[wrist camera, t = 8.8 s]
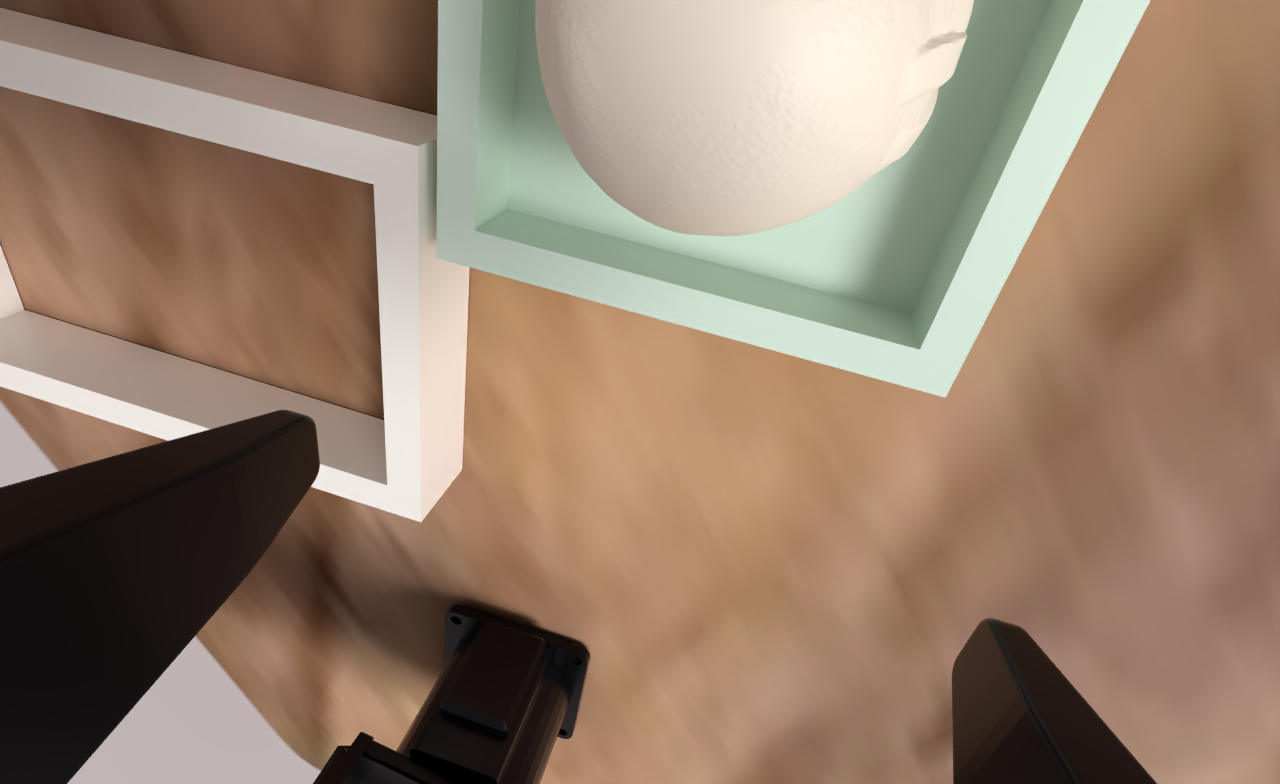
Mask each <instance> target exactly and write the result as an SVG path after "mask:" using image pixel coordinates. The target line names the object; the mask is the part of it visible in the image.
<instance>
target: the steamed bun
mask: <svg viewBox="0 0 1280 784" xmlns="http://www.w3.org/2000/svg"><path fill="white" fill-rule="evenodd" d="M973 3H974V0H536V6H535V8H536V10H535V28H536V31H535V33H536V44H537V54H538V60H539V65H540V72H541V78H542V81H543V84H544V88H545V92H546V96H547V99H548V101H549V104H550V108H551V110H552V114H553V116H554V118H555V121H556V122H557V125H558V127H559V129H560V131H561V133H562V135H563V137H564V139H565V141H566V142H567V144H568V146H569V147H570V149H571V151H572V153H573V154H574V156H575V158H576V159H577V161H578V163H579V164H580V166H581V167H582V168H583V170H584V171H585V172H586V173H587V174H588V176H589V177H591V178H592V180H593V181H595V182H596V184H597V185H598V186H599V187H600V188H601V189H602V190H603V192H604V193H606V194H607V195H608V196H609V197H610V198H611V199H613V200H614V201H615V202H617V203H618V204H619V205H621V206H622V207H624V208H626V209H627V210H629V211H630V212H632V213H633V214H635V215H636V216H638V217H640V218H642V219H644V220H645V221H647V222H649V223H652V224H653V225H655V226H657V227H660V228H663V229H666V230H670V231H674V232H676V233H682V234H689V235H702V236H740V235H748V234H754V233H759V232H763V231H768V230H770V229H775V228H778V227H782V226H784V225H787V224H791V223H794V222H797V221H800V220H802V219H805V218H808V217H809V216H812V215H814V214H817V213H818V212H821V211H823V210H825V209H827V208H829V207H831V206H832V205H834V204H836V203H838V202H840V201H841V200H842V199H844V198H845V197H847V196H848V195H850V194H851V193H852V192H854V191H855V190H857V189H858V188H859V187H860V186H861V185H863V184H864V183H865V182H867V181H868V180H869V179H870V178H871V177H872V176H873V175H874V174H876V173H877V172H879V171H881V170H882V169H884V168H886V167H887V166H888V165H890V164H891V163H892V162H894V161H896V160H898V159H899V158H901V157H902V156H904V155H905V154H906V153H907V152H908V151H909V149H910V148H911V146H912V145H913V143H914V142H915V141H916V139H917V138H918V136H919V135H920V133H921V132H922V130H923V129H924V127H925V125H926V124H927V122H928V120H929V118H930V117H931V115H932V112H933V109H934V107H935V104H936V100H937V95H938V89H939V87H940V86H942V85H943V84H944V83H946V82H947V81H948V80H949V79H950V78H951V77H952V76H953V74H954V71H955V68H956V65H957V62H958V59H959V56H960V54H961V51H962V48H963V46H964V43H965V41H966V38H967V35H966V33H965V32H966V29H967V26H968V23H969V19H970V16H971V13H972V7H973Z"/></svg>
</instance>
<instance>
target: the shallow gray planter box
mask: <svg viewBox="0 0 1280 784" xmlns="http://www.w3.org/2000/svg"><path fill="white" fill-rule="evenodd" d="M0 86H2V87H5V88H9V89H13V90H17V91H21V92H24V93H28V94H32V95H36V96H40V97H43V98H47V99H51V100H55V101H59V102H62V103H66V104H70V105H74V106H78V107H81V108H85V109H89V110H93V111H97V112H100V113H104V114H108V115H112V116H116V117H119V118H123V119H127V120H131V121H135V122H138V123H142V124H146V125H150V126H154V127H157V128H161V129H165V130H169V131H173V132H176V133H180V134H184V135H188V136H192V137H195V138H199V139H203V140H207V141H211V142H214V143H218V144H222V145H226V146H229V147H233V148H237V149H241V150H245V151H248V152H252V153H256V154H260V155H264V156H267V157H271V158H275V159H279V160H283V161H286V162H290V163H294V164H298V165H302V166H305V167H309V168H313V169H317V170H321V171H324V172H328V173H332V174H336V175H340V176H343V177H347V178H351V179H355V180H359V181H362V182H366V183H370V184H374V205H375V227H376V249H377V271H378V293H379V315H380V337H381V359H382V381H383V403H384V420H382V419H379V418H376V417H373V416H369V415H366V414H363V413H359V412H356V411H353V410H350V409H346V408H343V407H340V406H337V405H333V404H330V403H327V402H324V401H320V400H317V399H314V398H311V397H307V396H304V395H301V394H298V393H294V392H291V391H288V390H284V389H281V388H278V387H275V386H271V385H268V384H265V383H262V382H258V381H255V380H252V379H249V378H245V377H242V376H239V375H236V374H232V373H229V372H226V371H222V370H219V369H216V368H213V367H209V366H206V365H203V364H200V363H196V362H193V361H190V360H187V359H183V358H180V357H177V356H174V355H170V354H167V353H164V352H161V351H157V350H154V349H151V348H147V347H144V346H141V345H138V344H134V343H131V342H128V341H125V340H121V339H118V338H115V337H112V336H108V335H105V334H102V333H99V332H95V331H92V330H89V329H85V328H82V327H79V326H76V325H72V324H69V323H66V322H63V321H59V320H56V319H53V318H50V317H46V316H43V315H40V314H37V313H33V312H30V311H27V310H24V307H23V305H22V302H21V299H20V297H19V294H18V291H17V288H16V286H15V283H14V280H13V278H12V275H11V272H10V270H9V267H8V264H7V262H6V259H5V256H4V253H3V251H2V248H1V245H0V386H1V387H4V388H7V389H10V390H13V391H16V392H19V393H23V394H26V395H29V396H32V397H35V398H38V399H41V400H44V401H47V402H50V403H53V404H57V405H60V406H63V407H66V408H69V409H72V410H75V411H78V412H81V413H84V414H88V415H91V416H94V417H97V418H100V419H103V420H106V421H109V422H112V423H115V424H118V425H122V426H125V427H128V428H131V429H134V430H137V431H140V432H143V433H146V434H149V435H152V436H156V437H159V438H162V439H165V440H168V441H170V440H173V439H177V438H180V437H184V436H188V435H191V434H195V433H198V432H202V431H206V430H209V429H213V428H216V427H220V426H224V425H227V424H231V423H234V422H238V421H242V420H245V419H249V418H252V417H256V416H260V415H263V414H267V413H270V412H274V411H278V410H290V411H293V412H297V413H300V414H304V415H307V416H309V417H311V418H312V419H313V420H314V422H315V424H316V429H317V439H318V448H319V458H320V468H319V472H318V475H317V478H316V480H315V481H314V483H313V484H312V486H311V487H313V488H316V489H319V490H323V491H326V492H329V493H332V494H335V495H338V496H341V497H344V498H347V499H350V500H353V501H357V502H360V503H363V504H366V505H369V506H372V507H375V508H378V509H381V510H384V511H388V512H391V513H394V514H397V515H400V516H403V517H406V518H409V519H412V520H415V521H418V522H422V520H423V519H424V518H425V516H426V515H427V514H428V513H429V511H430V510H431V509H432V507H433V506H434V505H435V504H436V502H437V501H438V500H439V498H440V497H441V496H442V495H443V493H444V492H445V491H446V489H447V488H448V487H449V486H450V484H451V483H452V482H453V480H454V479H455V478H456V477H457V475H458V474H459V473H460V471H461V470H462V462H463V434H464V406H465V378H466V351H467V323H468V295H469V267H467V266H463V265H460V264H456V263H452V262H449V261H445V260H441V259H438V258H436V242H437V116H436V115H432V114H428V113H424V112H420V111H416V110H412V109H408V108H404V107H400V106H396V105H392V104H388V103H384V102H380V101H376V100H372V99H367V98H363V97H359V96H355V95H351V94H347V93H343V92H339V91H335V90H331V89H327V88H323V87H319V86H315V85H311V84H307V83H303V82H299V81H295V80H291V79H287V78H283V77H279V76H275V75H271V74H267V73H262V72H258V71H254V70H250V69H246V68H242V67H238V66H234V65H230V64H226V63H222V62H218V61H214V60H210V59H206V58H202V57H198V56H194V55H190V54H186V53H182V52H178V51H174V50H170V49H166V48H162V47H158V46H153V45H149V44H145V43H141V42H137V41H133V40H129V39H125V38H121V37H117V36H113V35H109V34H105V33H101V32H97V31H93V30H89V29H85V28H81V27H77V26H73V25H69V24H65V23H61V22H57V21H53V20H49V19H44V18H40V17H36V16H32V15H28V14H24V13H20V12H16V11H12V10H8V9H4V8H0Z"/></svg>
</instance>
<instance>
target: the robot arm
mask: <svg viewBox="0 0 1280 784" xmlns="http://www.w3.org/2000/svg"><path fill="white" fill-rule="evenodd" d="M319 468H320V458H319V448H318V439H317V429H316V424H315V422H314V420H313V419H312V418H311V417H309V416H307V415H304V414H300V413H297V412H293V411H290V410H278V411H274V412H270V413H267V414H263V415H260V416H256V417H252V418H249V419H245V420H242V421H238V422H234V423H231V424H227V425H224V426H220V427H216V428H213V429H209V430H206V431H202V432H198V433H195V434H191V435H188V436H184V437H180V438H177V439H173V440H170V441H166V442H163V443H159V444H155V445H152V446H148V447H145V448H141V449H137V450H134V451H130V452H127V453H123V454H119V455H116V456H112V457H109V458H105V459H101V460H98V461H94V462H91V463H87V464H83V465H80V466H76V467H73V468H69V469H65V470H62V471H58V472H55V473H51V474H47V475H44V476H40V477H37V478H34V479H30V480H26V481H22V482H19V483H15V484H12V485H8V486H4V487H1V488H0V784H67V783H68V782H69V781H70V780H71V778H72V777H73V776H74V775H75V774H76V773H77V771H78V770H79V769H80V768H81V767H82V766H83V765H84V763H85V762H86V761H87V760H88V759H89V757H91V755H92V754H93V753H94V752H95V751H96V750H97V748H98V747H99V746H100V745H101V744H102V743H103V742H104V740H105V739H106V738H107V737H108V736H109V735H110V733H111V732H112V731H113V730H114V729H115V728H116V727H117V725H118V724H119V723H120V722H121V721H122V720H123V718H124V717H125V716H126V715H127V714H128V713H129V712H130V710H131V709H132V708H133V707H134V706H135V705H136V703H137V702H138V701H139V700H140V699H141V697H142V696H143V695H144V694H145V693H146V692H147V691H148V690H149V689H150V687H151V686H152V685H153V684H154V683H155V682H156V680H157V679H158V678H159V677H160V676H161V675H162V674H163V672H164V671H165V670H166V669H167V668H168V667H169V665H170V664H171V663H172V662H173V661H174V660H175V659H176V657H177V656H178V655H179V654H180V653H181V652H182V650H183V649H184V648H185V647H186V646H187V645H188V643H189V642H190V641H191V640H192V639H193V638H194V637H195V635H196V634H197V633H198V632H199V631H200V630H201V629H202V627H203V626H204V625H205V624H206V623H207V622H208V620H209V619H210V618H211V617H212V616H213V615H214V614H215V612H216V611H217V610H218V609H219V608H220V607H221V605H222V604H223V603H224V602H225V601H226V600H227V599H228V597H229V596H230V595H231V594H232V593H233V592H234V590H235V589H236V588H237V587H238V586H239V585H240V583H241V582H242V581H243V580H244V579H245V577H246V576H247V575H248V574H249V572H250V571H251V570H252V569H253V567H254V566H255V565H256V563H257V562H258V561H259V559H260V558H261V557H262V555H263V554H264V553H265V551H266V550H267V548H268V547H269V546H270V544H271V543H272V541H273V540H274V538H275V537H276V536H277V534H278V533H279V531H280V530H281V528H282V527H283V526H284V524H285V523H286V521H287V520H288V519H289V517H290V516H291V514H292V513H293V511H294V510H295V509H296V507H297V506H298V504H299V503H300V501H301V500H302V499H303V497H304V496H305V494H306V493H307V492H308V490H309V489H310V487H311V486H312V484H313V483H314V481H315V480H316V478H317V475H318V472H319ZM589 661H590V653H589V652H588V651H587V650H586V649H585V648H583V647H581V646H578V645H575V644H572V643H569V642H566V641H563V640H561V639H558V638H555V637H552V636H549V635H546V634H543V633H540V632H537V631H534V630H531V629H528V628H525V627H522V626H519V625H516V624H513V623H510V622H507V621H504V620H501V619H498V618H495V617H492V616H489V615H486V614H483V613H480V612H477V611H474V610H471V609H468V608H465V607H462V606H458V605H454V606H452V607H451V608H450V609H449V611H448V612H447V614H446V617H445V659H444V669H443V671H442V673H441V674H440V676H439V678H438V680H437V681H436V683H435V685H434V687H433V688H432V690H431V692H430V693H429V695H428V697H427V699H426V700H425V702H424V704H423V706H422V707H421V709H420V711H419V713H418V714H417V716H416V718H415V720H414V721H413V723H412V725H411V726H410V728H409V730H408V732H407V733H406V735H405V737H404V739H403V740H402V742H401V744H400V746H399V747H398V749H397V751H394V750H392V749H390V748H388V747H386V746H384V745H382V744H380V743H378V742H375V741H373V739H374V737H372V736H370V735H368V734H365V733H363V732H360V734H359V735H358V736H357V738H356V739H355V741H354V742H353V743H352V745H351V746H338V747H337V748H336V750H335V751H334V753H333V754H332V756H331V757H330V759H329V760H328V762H327V763H326V765H325V767H324V768H323V770H322V771H321V773H320V774H319V776H318V777H317V779H316V780H315V781H314V783H313V784H540V781H541V778H542V776H543V773H544V770H545V768H546V765H547V762H548V760H549V757H550V754H551V752H552V749H553V746H554V744H555V741H556V738H557V737H560V738H564V739H569V738H571V737H572V735H573V732H574V729H575V725H576V721H577V716H578V712H579V707H580V702H581V698H582V693H583V689H584V684H585V679H586V675H587V670H588V666H589ZM952 729H953V784H1157V783H1156V782H1155V781H1154V779H1153V778H1152V777H1151V776H1150V775H1149V774H1148V773H1147V771H1146V770H1145V769H1144V768H1143V767H1142V766H1141V764H1140V763H1139V762H1138V761H1137V760H1136V759H1135V757H1134V756H1133V755H1132V754H1131V753H1130V752H1129V750H1128V749H1127V748H1126V747H1125V746H1124V745H1123V743H1122V742H1121V741H1120V740H1119V739H1118V738H1117V736H1116V735H1115V734H1114V733H1113V732H1112V731H1111V729H1110V728H1109V727H1108V726H1107V725H1106V724H1105V723H1104V721H1103V720H1102V719H1101V718H1100V717H1099V716H1098V714H1097V713H1096V712H1095V711H1094V710H1093V709H1092V707H1091V706H1090V705H1089V704H1088V703H1087V702H1086V700H1085V699H1084V698H1083V697H1082V696H1081V695H1080V693H1079V692H1078V691H1077V690H1076V689H1075V688H1074V686H1073V685H1072V684H1071V683H1070V682H1069V681H1068V680H1067V678H1066V677H1065V676H1064V675H1063V674H1062V673H1061V671H1060V670H1059V669H1058V668H1057V667H1056V666H1055V664H1054V663H1053V662H1052V661H1051V660H1050V659H1049V657H1048V656H1047V655H1046V654H1045V653H1044V652H1043V650H1042V649H1041V648H1040V647H1039V646H1038V645H1037V643H1036V642H1035V641H1034V640H1033V639H1032V638H1031V636H1030V635H1029V634H1028V633H1027V632H1026V631H1025V630H1024V629H1022V628H1021V627H1019V626H1017V625H1014V624H1010V623H1007V622H1003V621H1000V620H997V619H993V618H986V619H984V620H983V621H981V622H980V623H979V625H978V626H977V627H976V629H975V630H974V632H973V634H972V635H971V637H970V638H969V640H968V641H967V643H966V644H965V646H964V647H963V649H962V650H961V652H960V653H959V655H958V656H957V658H956V660H955V663H954V666H953V671H952Z"/></svg>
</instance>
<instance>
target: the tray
mask: <svg viewBox="0 0 1280 784" xmlns="http://www.w3.org/2000/svg"><path fill="white" fill-rule="evenodd" d="M1149 2H1150V0H974V3H973V7H972V13H971V16H970V19H969V23H968V26H967V29H966V32H965V33H966V35H967V38H966V41H965V43H964V46H963V48H962V51H961V54H960V56H959V59H958V62H957V65H956V68H955V71H954V74H953V76H952V77H951V78H950V79H949V80H948V81H947V82H946V83H944V84H943V85H942V86H940V87H939V89H938V95H937V100H936V104H935V107H934V109H933V112H932V115H931V117H930V118H929V120H928V122H927V124H926V125H925V127H924V129H923V130H922V132H921V133H920V135H919V136H918V138H917V139H916V141H915V142H914V143H913V145H912V146H911V148H910V149H909V151H908V152H907V153H906V154H905V155H904V156H902V157H901V158H899V159H898V160H896V161H894V162H892V163H891V164H890V165H888V166H887V167H886V168H884V169H882V170H881V171H879V172H877V173H876V174H874V175H873V176H872V177H871V178H870V179H869V180H868V181H867V182H865V183H864V184H863V185H861V186H860V187H859V188H858V189H857V190H855V191H854V192H852V193H851V194H850V195H848V196H847V197H845V198H844V199H842V200H841V201H840V202H838V203H836V204H834V205H832V206H831V207H829V208H827V209H825V210H823V211H821V212H818V213H817V214H814V215H812V216H809V217H808V218H805V219H802V220H800V221H797V222H794V223H791V224H787V225H784V226H782V227H778V228H775V229H770V230H768V231H763V232H759V233H754V234H748V235H740V236H702V235H689V234H682V233H676V232H674V231H670V230H666V229H663V228H660V227H657V226H655V225H653V224H652V223H649V222H647V221H645V220H644V219H642V218H640V217H638V216H636V215H635V214H633V213H632V212H630V211H629V210H627V209H626V208H624V207H622V206H621V205H619V204H618V203H617V202H615V201H614V200H613V199H611V198H610V197H609V196H608V195H607V194H606V193H604V192H603V190H602V189H601V188H600V187H599V186H598V185H597V184H596V182H595V181H593V180H592V178H591V177H589V176H588V174H587V173H586V172H585V171H584V170H583V168H582V167H581V166H580V164H579V163H578V161H577V159H576V158H575V156H574V154H573V153H572V151H571V149H570V147H569V146H568V144H567V142H566V141H565V139H564V137H563V135H562V133H561V131H560V129H559V127H558V125H557V122H556V121H555V118H554V116H553V114H552V110H551V108H550V104H549V101H548V99H547V96H546V92H545V88H544V84H543V81H542V78H541V72H540V65H539V60H538V54H537V44H536V33H535V31H536V28H535V10H536V8H535V6H536V0H438V91H437V242H436V258H438V259H441V260H445V261H449V262H452V263H456V264H460V265H463V266H467V267H471V268H474V269H478V270H482V271H485V272H489V273H493V274H496V275H500V276H504V277H507V278H511V279H514V280H518V281H522V282H525V283H529V284H533V285H536V286H540V287H544V288H547V289H551V290H555V291H558V292H562V293H566V294H569V295H573V296H577V297H580V298H584V299H587V300H591V301H595V302H598V303H602V304H606V305H609V306H613V307H617V308H620V309H624V310H628V311H631V312H635V313H639V314H642V315H646V316H650V317H653V318H657V319H661V320H664V321H668V322H671V323H675V324H679V325H682V326H686V327H690V328H693V329H697V330H701V331H704V332H708V333H712V334H715V335H719V336H723V337H726V338H730V339H734V340H737V341H741V342H744V343H748V344H752V345H755V346H759V347H763V348H766V349H770V350H774V351H777V352H781V353H785V354H788V355H792V356H796V357H799V358H803V359H807V360H810V361H814V362H818V363H821V364H825V365H828V366H832V367H836V368H839V369H843V370H847V371H850V372H854V373H858V374H861V375H865V376H869V377H872V378H876V379H880V380H883V381H887V382H891V383H894V384H898V385H902V386H905V387H909V388H912V389H916V390H920V391H923V392H927V393H931V394H934V395H938V396H942V397H945V398H946V396H947V394H948V392H949V390H950V388H951V386H952V384H953V382H954V380H955V378H956V376H957V374H958V372H959V370H960V369H961V367H962V365H963V363H964V361H965V359H966V357H967V355H968V353H969V351H970V349H971V347H972V345H973V343H974V341H975V339H976V337H977V336H978V334H979V332H980V330H981V328H982V326H983V324H984V322H985V320H986V318H987V316H988V314H989V312H990V310H991V308H992V306H993V305H994V303H995V301H996V299H997V297H998V295H999V293H1000V291H1001V289H1002V287H1003V285H1004V283H1005V281H1006V279H1007V277H1008V275H1009V273H1010V272H1011V270H1012V268H1013V266H1014V264H1015V262H1016V260H1017V258H1018V256H1019V254H1020V252H1021V250H1022V248H1023V246H1024V244H1025V242H1026V240H1027V239H1028V237H1029V235H1030V233H1031V231H1032V229H1033V227H1034V225H1035V223H1036V221H1037V219H1038V217H1039V215H1040V213H1041V211H1042V209H1043V208H1044V206H1045V204H1046V202H1047V200H1048V198H1049V196H1050V194H1051V192H1052V190H1053V188H1054V186H1055V184H1056V182H1057V180H1058V178H1059V176H1060V175H1061V173H1062V171H1063V169H1064V167H1065V165H1066V163H1067V161H1068V159H1069V157H1070V155H1071V153H1072V151H1073V149H1074V147H1075V145H1076V144H1077V142H1078V140H1079V138H1080V136H1081V134H1082V132H1083V130H1084V128H1085V126H1086V124H1087V122H1088V120H1089V118H1090V116H1091V114H1092V112H1093V111H1094V109H1095V107H1096V105H1097V103H1098V101H1099V99H1100V97H1101V95H1102V93H1103V91H1104V89H1105V87H1106V85H1107V83H1108V81H1109V80H1110V78H1111V76H1112V74H1113V72H1114V70H1115V68H1116V66H1117V64H1118V62H1119V60H1120V58H1121V56H1122V54H1123V52H1124V50H1125V48H1126V47H1127V45H1128V43H1129V41H1130V39H1131V37H1132V35H1133V33H1134V31H1135V29H1136V27H1137V25H1138V23H1139V21H1140V19H1141V17H1142V16H1143V14H1144V12H1145V10H1146V8H1147V6H1148V4H1149Z"/></svg>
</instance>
